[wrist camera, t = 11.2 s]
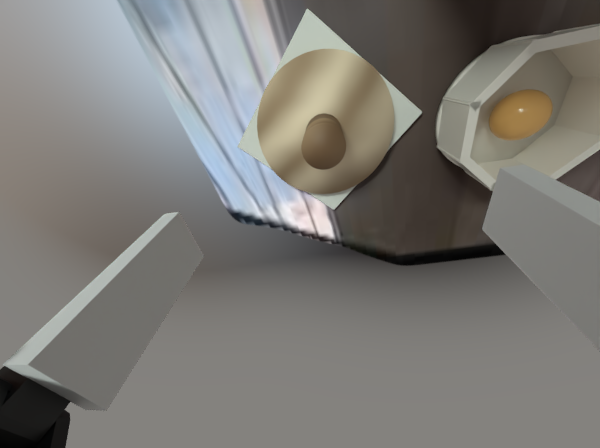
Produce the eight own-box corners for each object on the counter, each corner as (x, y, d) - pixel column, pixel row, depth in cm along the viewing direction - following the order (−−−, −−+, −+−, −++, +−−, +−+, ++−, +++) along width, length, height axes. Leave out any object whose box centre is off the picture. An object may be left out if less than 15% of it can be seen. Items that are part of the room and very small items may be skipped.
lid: (237, 146, 28) (215, 166, 22) (307, 9, 21) (301, -15, 15) (333, 210, 32) (336, 241, 26) (422, 112, 25) (452, 126, 19)
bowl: (410, 126, 26) (431, 140, 21) (525, 0, 20) (594, -24, 15) (479, 187, 29) (512, 211, 24) (598, 93, 23) (675, 100, 18)
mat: (238, 145, 29) (237, 146, 28) (307, 9, 21) (307, 8, 21) (333, 208, 32) (333, 209, 32) (420, 111, 25) (422, 112, 25)
